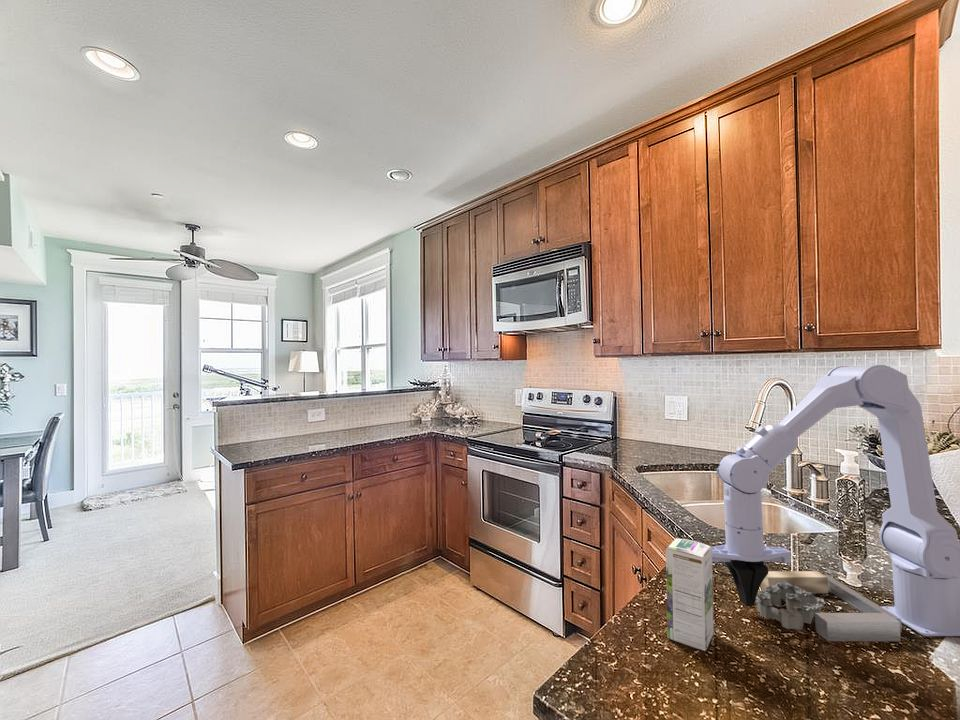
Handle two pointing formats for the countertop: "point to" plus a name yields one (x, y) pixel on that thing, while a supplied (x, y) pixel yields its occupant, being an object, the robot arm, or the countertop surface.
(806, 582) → the block
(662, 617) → the countertop surface
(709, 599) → the syrup box
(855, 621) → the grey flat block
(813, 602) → the egg carton
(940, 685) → the countertop surface
